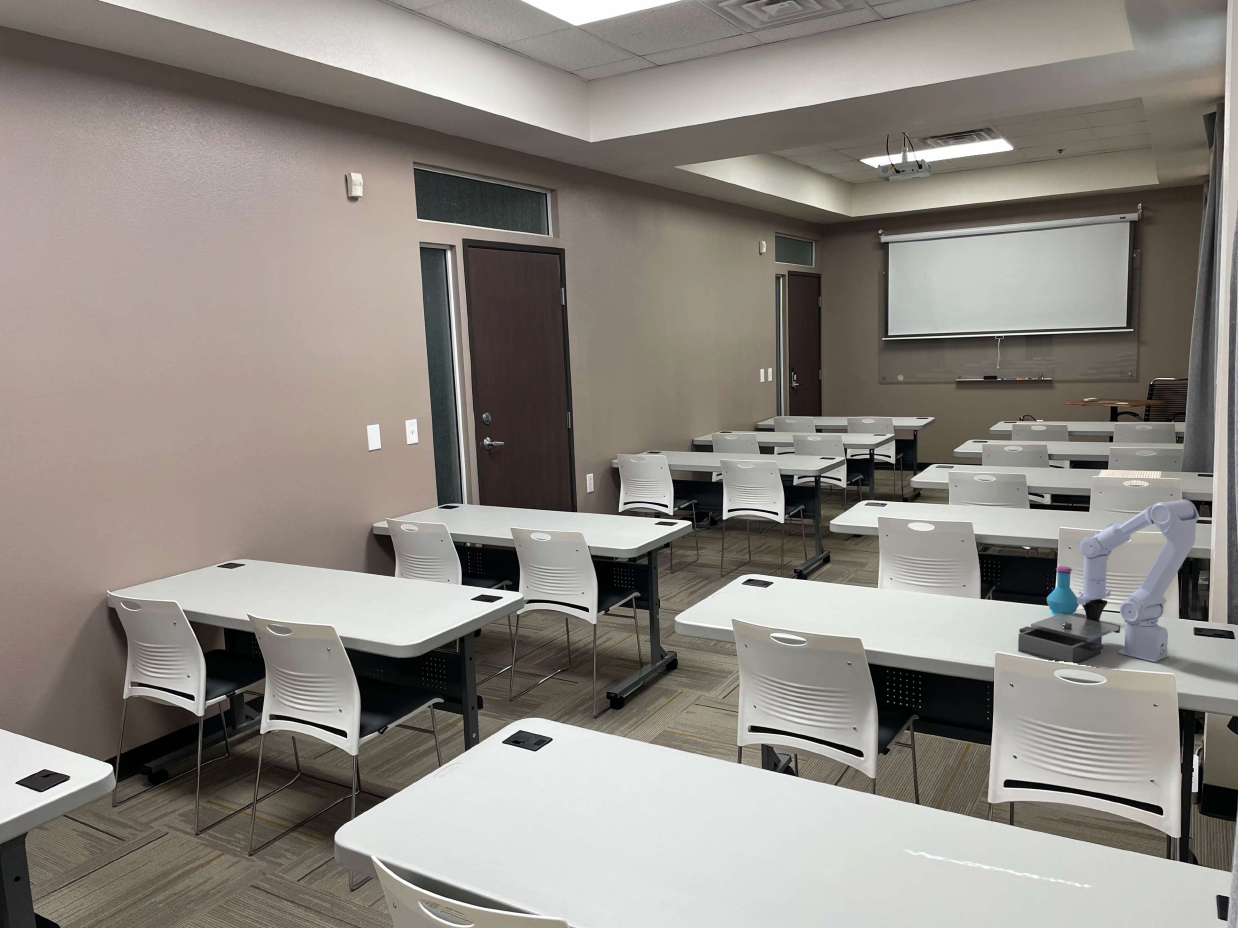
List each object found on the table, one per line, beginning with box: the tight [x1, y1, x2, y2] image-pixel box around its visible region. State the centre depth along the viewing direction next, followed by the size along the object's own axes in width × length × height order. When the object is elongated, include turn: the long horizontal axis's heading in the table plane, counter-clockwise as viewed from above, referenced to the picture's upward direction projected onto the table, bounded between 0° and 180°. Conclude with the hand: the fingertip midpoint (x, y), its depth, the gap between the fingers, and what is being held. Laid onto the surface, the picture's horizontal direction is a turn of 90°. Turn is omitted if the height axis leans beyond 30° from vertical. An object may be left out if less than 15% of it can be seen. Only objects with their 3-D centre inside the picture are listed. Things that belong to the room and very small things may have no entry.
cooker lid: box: [1030, 613, 1121, 642], centre depth 240 cm, size 16×17×3 cm
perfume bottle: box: [1046, 565, 1080, 616], centre depth 270 cm, size 9×9×15 cm
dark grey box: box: [1017, 626, 1104, 664], centre depth 236 cm, size 21×15×5 cm
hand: (1093, 624), depth 245 cm, fingers closed
